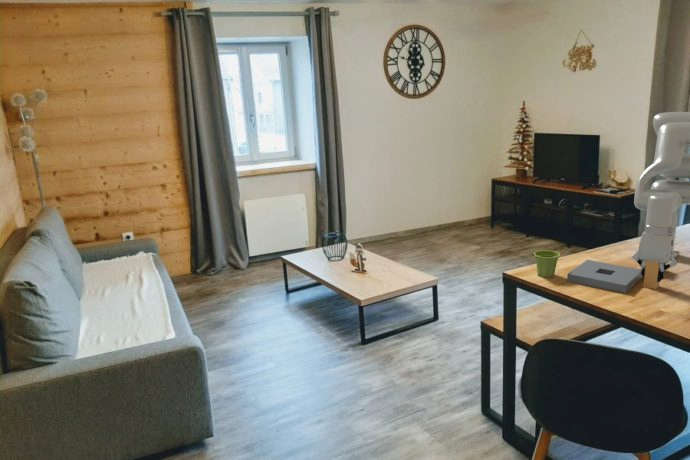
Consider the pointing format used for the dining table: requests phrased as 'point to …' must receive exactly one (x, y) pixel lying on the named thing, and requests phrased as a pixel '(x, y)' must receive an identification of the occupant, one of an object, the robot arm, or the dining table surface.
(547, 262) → the plant pot
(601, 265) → the socket plate
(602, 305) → the dining table surface
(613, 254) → the dining table surface
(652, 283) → the plug
